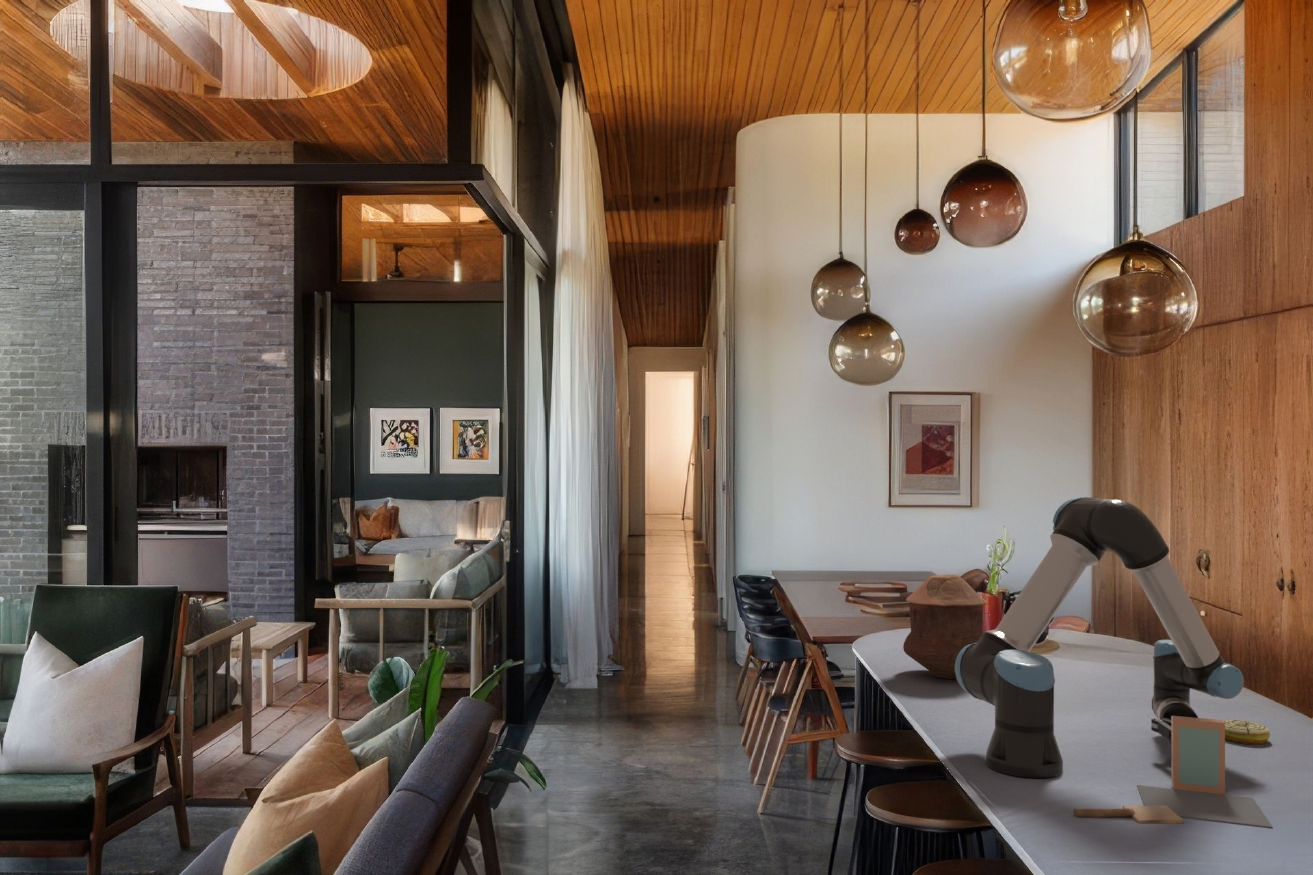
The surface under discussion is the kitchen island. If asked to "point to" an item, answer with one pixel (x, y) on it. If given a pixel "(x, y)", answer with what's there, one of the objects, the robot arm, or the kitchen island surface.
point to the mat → (1206, 806)
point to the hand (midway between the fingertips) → (1196, 747)
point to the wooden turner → (1135, 814)
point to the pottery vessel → (943, 623)
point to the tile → (1198, 754)
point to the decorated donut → (1246, 732)
